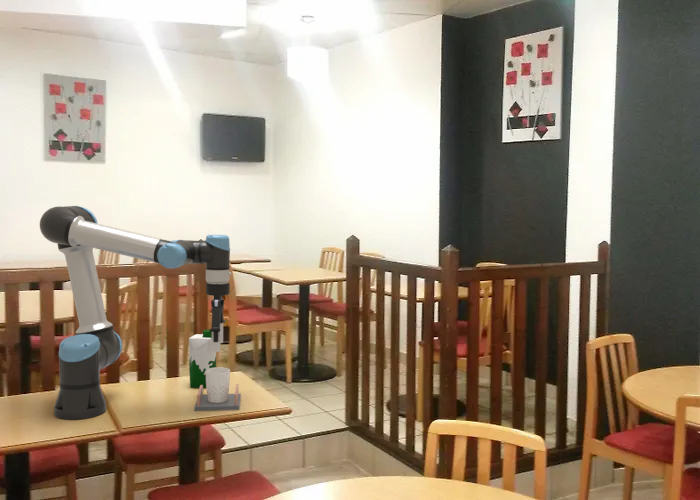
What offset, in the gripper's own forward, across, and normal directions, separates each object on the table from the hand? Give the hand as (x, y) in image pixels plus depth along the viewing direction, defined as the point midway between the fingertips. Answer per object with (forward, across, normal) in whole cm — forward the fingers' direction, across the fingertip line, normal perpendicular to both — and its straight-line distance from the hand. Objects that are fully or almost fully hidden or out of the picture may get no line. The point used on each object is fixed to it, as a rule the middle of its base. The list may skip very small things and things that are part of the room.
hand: (217, 347), depth 222 cm
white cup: (+18, 0, 0) cm, 18 cm away
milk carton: (+19, +22, +7) cm, 30 cm away
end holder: (+19, 0, 0) cm, 19 cm away
